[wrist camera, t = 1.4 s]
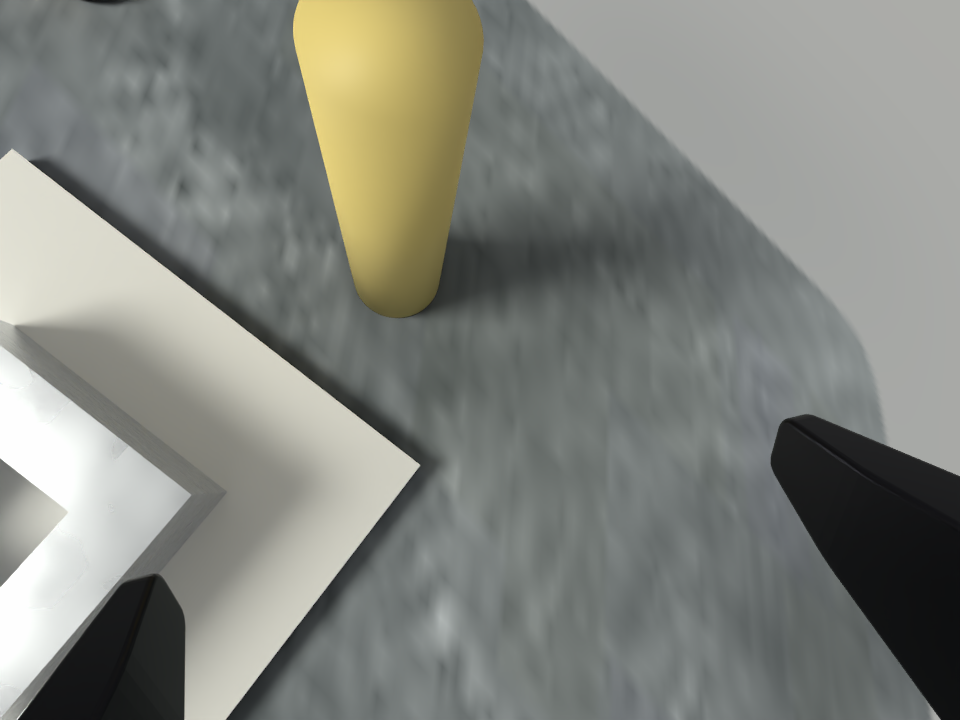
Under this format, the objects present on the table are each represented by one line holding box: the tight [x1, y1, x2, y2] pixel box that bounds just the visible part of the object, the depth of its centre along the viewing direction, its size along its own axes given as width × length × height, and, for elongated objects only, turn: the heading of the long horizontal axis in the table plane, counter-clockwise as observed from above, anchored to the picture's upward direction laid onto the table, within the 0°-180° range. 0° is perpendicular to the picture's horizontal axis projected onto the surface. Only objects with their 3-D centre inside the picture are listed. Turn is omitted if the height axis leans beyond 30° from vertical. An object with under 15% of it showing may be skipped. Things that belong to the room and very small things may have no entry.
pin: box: [293, 0, 484, 318], centre depth 17 cm, size 3×3×13 cm
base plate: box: [0, 149, 420, 720], centre depth 20 cm, size 18×18×1 cm
